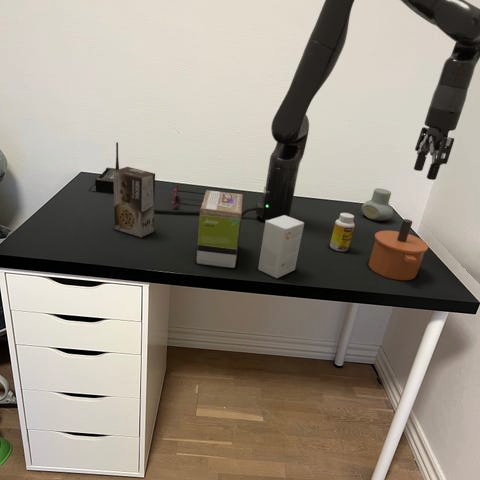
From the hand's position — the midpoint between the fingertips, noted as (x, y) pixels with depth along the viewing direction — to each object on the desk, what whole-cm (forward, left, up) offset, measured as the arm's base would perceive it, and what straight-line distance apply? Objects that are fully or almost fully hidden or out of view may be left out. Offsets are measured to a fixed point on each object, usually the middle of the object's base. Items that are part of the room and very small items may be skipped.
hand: (424, 174), depth 122 cm
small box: (-36, -13, -25) cm, 46 cm away
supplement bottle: (-15, +6, -25) cm, 30 cm away
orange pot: (-3, -5, -25) cm, 26 cm away
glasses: (-57, +30, -25) cm, 70 cm away
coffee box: (-74, +4, -25) cm, 78 cm away
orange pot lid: (-3, -5, -17) cm, 18 cm away
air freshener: (+6, +38, -25) cm, 46 cm away
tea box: (-51, -7, -25) cm, 57 cm away
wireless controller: (-85, +40, -25) cm, 98 cm away
